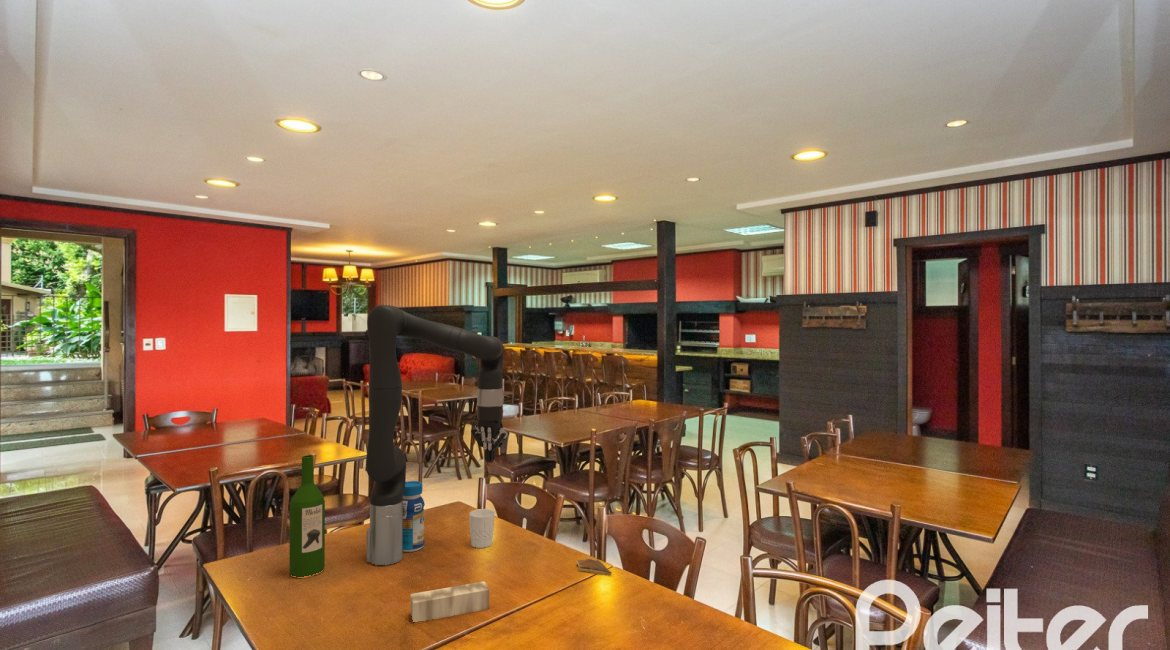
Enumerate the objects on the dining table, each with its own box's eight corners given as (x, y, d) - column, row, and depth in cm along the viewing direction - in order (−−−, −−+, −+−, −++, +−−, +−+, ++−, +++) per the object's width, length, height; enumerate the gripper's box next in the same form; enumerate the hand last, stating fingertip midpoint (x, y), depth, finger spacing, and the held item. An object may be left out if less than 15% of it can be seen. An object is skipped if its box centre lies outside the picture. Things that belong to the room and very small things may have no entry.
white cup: (497, 540, 186) (497, 509, 186) (490, 549, 178) (490, 517, 178) (473, 539, 187) (473, 508, 187) (465, 548, 179) (466, 516, 179)
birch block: (484, 600, 146) (410, 614, 139) (484, 581, 146) (410, 594, 139) (489, 609, 141) (413, 624, 134) (489, 589, 141) (413, 603, 134)
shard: (612, 578, 160) (612, 571, 160) (586, 582, 157) (586, 576, 157) (597, 563, 170) (597, 556, 170) (572, 567, 167) (572, 560, 167)
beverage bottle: (395, 544, 181) (395, 481, 181) (422, 540, 185) (422, 478, 185) (398, 554, 174) (398, 488, 174) (427, 550, 177) (427, 485, 177)
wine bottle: (299, 581, 155) (299, 461, 155) (283, 572, 161) (283, 456, 161) (330, 570, 162) (331, 455, 162) (314, 562, 168) (315, 451, 168)
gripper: (464, 403, 170) (464, 462, 170) (500, 406, 164) (500, 467, 164) (480, 400, 177) (480, 456, 177) (515, 403, 171) (515, 462, 171)
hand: (489, 461), depth 171 cm, fingers closed
